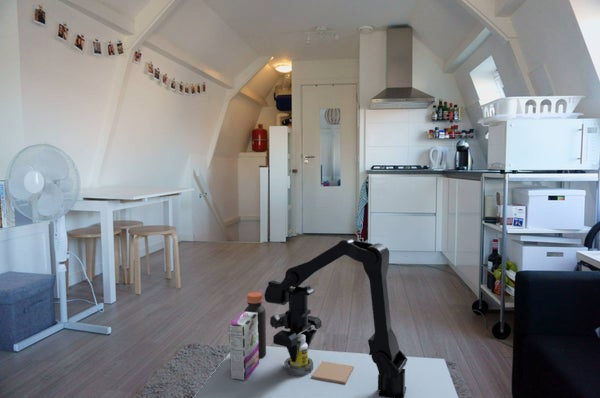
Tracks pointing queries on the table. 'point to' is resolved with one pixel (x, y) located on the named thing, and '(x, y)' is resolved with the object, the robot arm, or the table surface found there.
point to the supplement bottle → (301, 353)
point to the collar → (299, 370)
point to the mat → (333, 372)
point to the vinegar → (255, 306)
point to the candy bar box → (244, 345)
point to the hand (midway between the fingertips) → (298, 358)
